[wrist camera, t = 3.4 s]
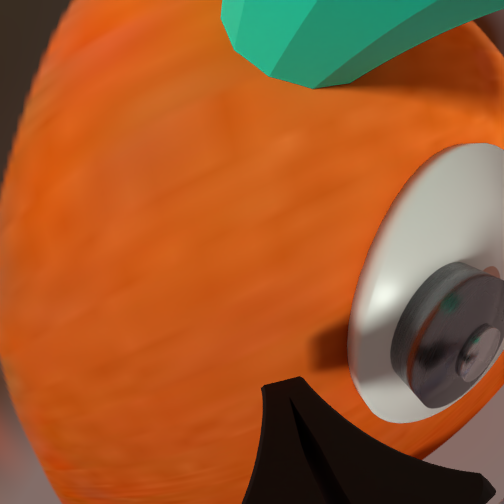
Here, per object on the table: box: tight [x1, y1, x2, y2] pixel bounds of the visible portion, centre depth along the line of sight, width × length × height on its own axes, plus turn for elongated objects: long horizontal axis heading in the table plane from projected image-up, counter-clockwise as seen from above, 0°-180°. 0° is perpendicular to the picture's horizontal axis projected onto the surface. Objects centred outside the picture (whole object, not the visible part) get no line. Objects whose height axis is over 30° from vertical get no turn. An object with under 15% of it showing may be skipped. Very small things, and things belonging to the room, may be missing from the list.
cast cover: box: [390, 262, 504, 409], centre depth 9 cm, size 6×6×3 cm
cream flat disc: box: [347, 143, 504, 423], centre depth 11 cm, size 16×16×1 cm
